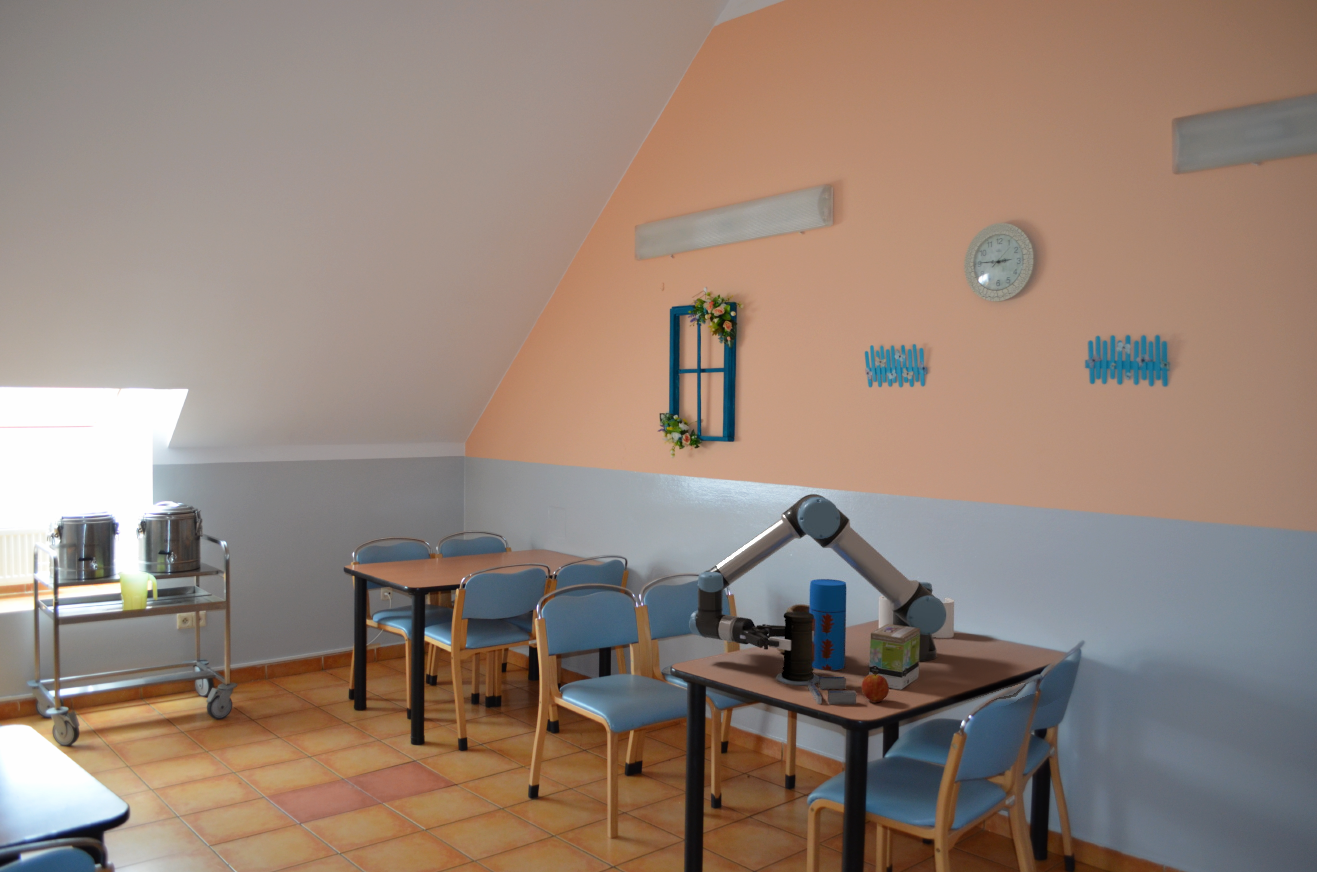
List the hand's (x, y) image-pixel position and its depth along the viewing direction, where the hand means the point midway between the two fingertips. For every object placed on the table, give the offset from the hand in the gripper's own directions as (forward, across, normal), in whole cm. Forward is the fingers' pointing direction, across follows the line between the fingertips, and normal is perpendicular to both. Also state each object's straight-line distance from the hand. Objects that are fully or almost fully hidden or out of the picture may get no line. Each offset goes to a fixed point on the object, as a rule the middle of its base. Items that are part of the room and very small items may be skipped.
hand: (802, 640), depth 268 cm
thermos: (-1, -19, -11) cm, 22 cm away
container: (-1, 0, -11) cm, 11 cm away
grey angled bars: (+13, +8, -11) cm, 19 cm away
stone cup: (-14, -28, -11) cm, 33 cm away
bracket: (+4, -75, -12) cm, 76 cm away
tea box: (+21, -15, -11) cm, 29 cm away
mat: (-1, 0, -11) cm, 11 cm away
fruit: (+24, +5, -11) cm, 27 cm away
